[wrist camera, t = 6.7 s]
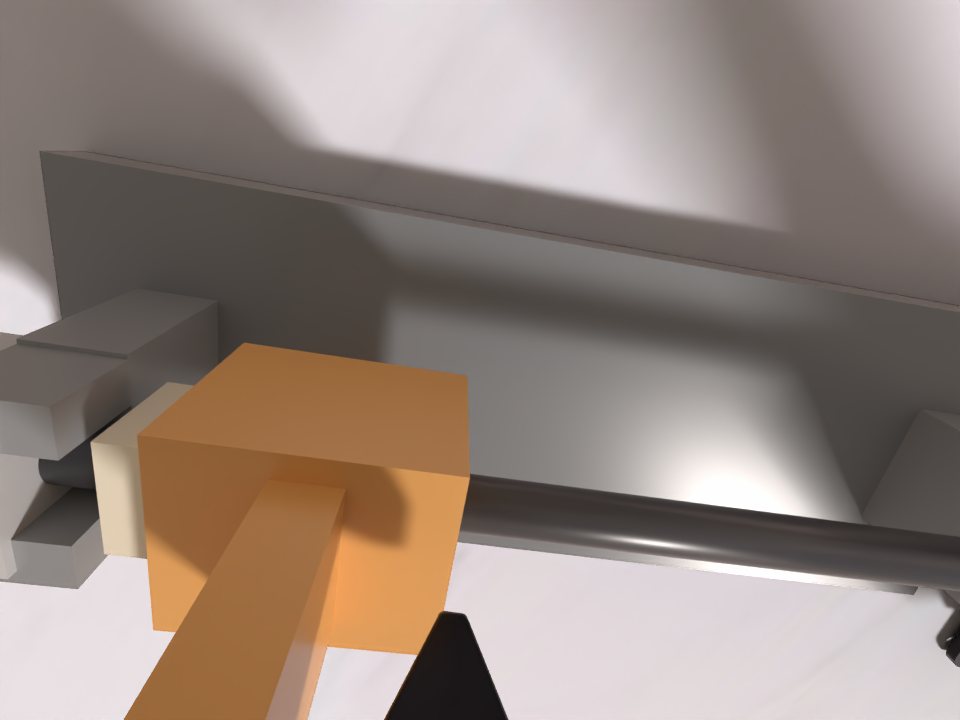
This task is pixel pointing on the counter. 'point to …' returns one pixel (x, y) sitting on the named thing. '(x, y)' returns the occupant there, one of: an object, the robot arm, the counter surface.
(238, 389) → the orange slider block
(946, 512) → the stand
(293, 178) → the counter surface
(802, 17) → the counter surface
